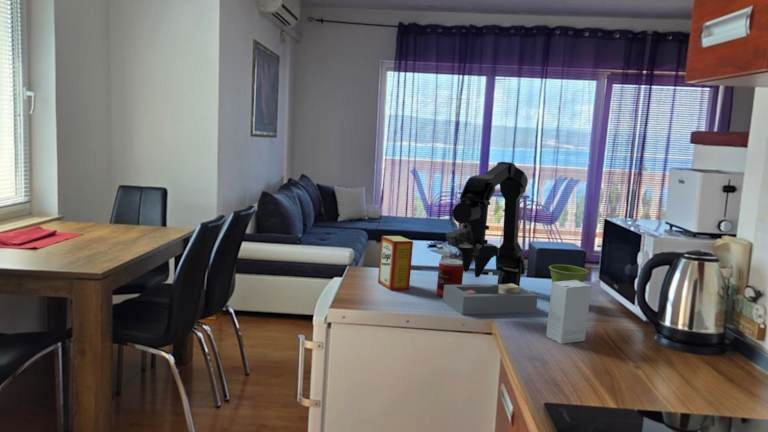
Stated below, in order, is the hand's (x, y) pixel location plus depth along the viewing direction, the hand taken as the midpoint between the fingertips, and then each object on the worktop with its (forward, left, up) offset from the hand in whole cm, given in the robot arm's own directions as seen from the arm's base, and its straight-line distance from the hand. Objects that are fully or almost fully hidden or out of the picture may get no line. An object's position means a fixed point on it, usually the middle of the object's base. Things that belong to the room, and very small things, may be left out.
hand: (471, 274), depth 176 cm
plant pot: (-35, -2, -10) cm, 36 cm away
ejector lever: (-7, 0, -8) cm, 11 cm away
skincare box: (-13, +29, -10) cm, 33 cm away
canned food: (0, -13, -10) cm, 17 cm away
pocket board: (-7, 0, -10) cm, 12 cm away
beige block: (-13, 0, -6) cm, 15 cm away
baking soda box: (+14, -25, -10) cm, 31 cm away
